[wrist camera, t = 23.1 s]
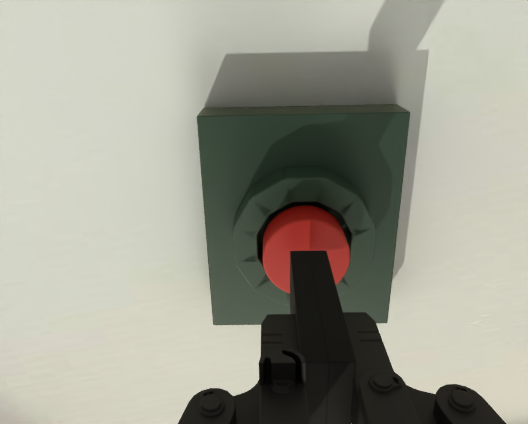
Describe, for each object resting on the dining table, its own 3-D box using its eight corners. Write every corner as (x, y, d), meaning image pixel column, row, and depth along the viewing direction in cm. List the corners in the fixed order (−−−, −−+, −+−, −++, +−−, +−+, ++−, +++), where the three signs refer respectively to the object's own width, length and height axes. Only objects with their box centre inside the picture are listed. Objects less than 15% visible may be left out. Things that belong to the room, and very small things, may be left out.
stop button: (261, 205, 21) (261, 220, 19) (346, 203, 21) (353, 218, 19) (263, 277, 22) (263, 297, 21) (342, 276, 22) (348, 296, 21)
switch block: (202, 107, 23) (190, 123, 19) (397, 104, 23) (423, 119, 19) (217, 303, 27) (209, 346, 24) (378, 301, 27) (396, 344, 24)
